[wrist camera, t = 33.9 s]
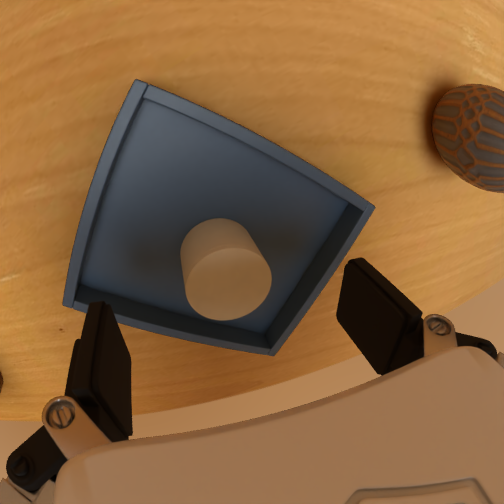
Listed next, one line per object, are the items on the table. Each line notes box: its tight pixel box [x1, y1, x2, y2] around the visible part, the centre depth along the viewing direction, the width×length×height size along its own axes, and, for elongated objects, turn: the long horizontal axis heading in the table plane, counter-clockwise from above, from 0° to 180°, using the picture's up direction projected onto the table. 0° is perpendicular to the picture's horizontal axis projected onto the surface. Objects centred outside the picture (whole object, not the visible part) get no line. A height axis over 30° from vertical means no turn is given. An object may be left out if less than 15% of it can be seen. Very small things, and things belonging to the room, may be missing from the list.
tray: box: [62, 79, 375, 356], centre depth 15 cm, size 13×11×2 cm
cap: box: [180, 218, 272, 320], centre depth 14 cm, size 4×4×3 cm
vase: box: [432, 84, 504, 193], centre depth 12 cm, size 7×7×9 cm
